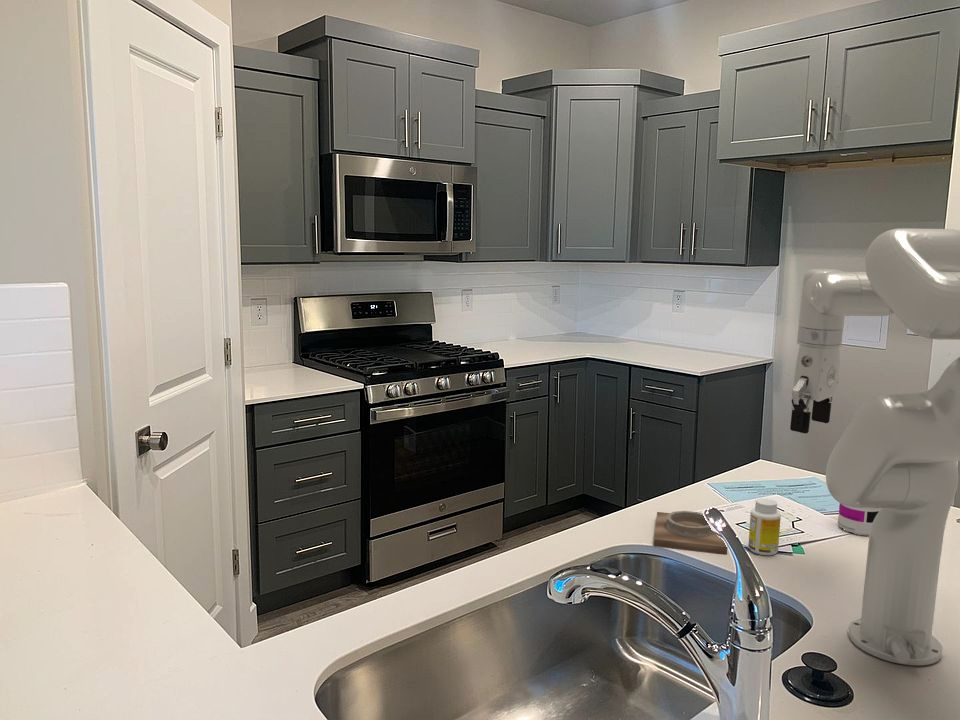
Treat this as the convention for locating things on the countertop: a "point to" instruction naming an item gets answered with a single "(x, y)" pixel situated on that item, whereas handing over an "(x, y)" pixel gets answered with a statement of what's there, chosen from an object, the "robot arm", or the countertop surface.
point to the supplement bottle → (764, 527)
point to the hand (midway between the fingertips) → (809, 426)
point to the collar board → (686, 532)
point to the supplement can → (857, 519)
